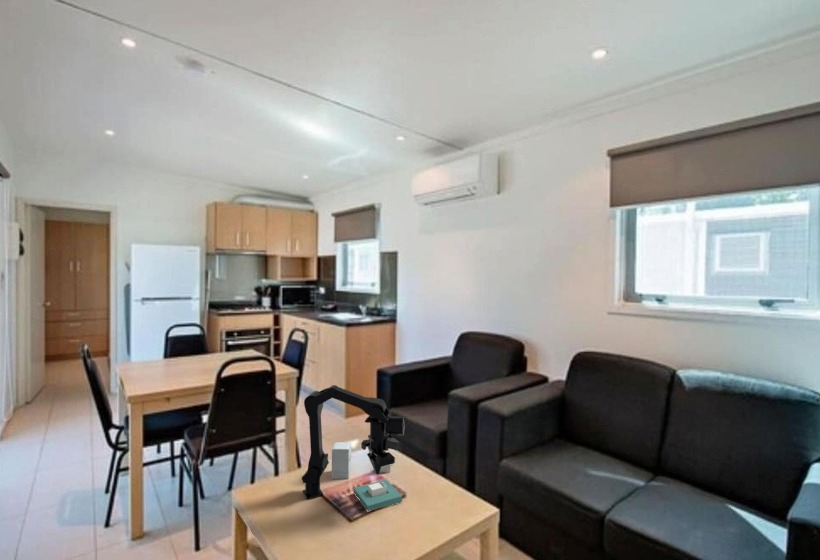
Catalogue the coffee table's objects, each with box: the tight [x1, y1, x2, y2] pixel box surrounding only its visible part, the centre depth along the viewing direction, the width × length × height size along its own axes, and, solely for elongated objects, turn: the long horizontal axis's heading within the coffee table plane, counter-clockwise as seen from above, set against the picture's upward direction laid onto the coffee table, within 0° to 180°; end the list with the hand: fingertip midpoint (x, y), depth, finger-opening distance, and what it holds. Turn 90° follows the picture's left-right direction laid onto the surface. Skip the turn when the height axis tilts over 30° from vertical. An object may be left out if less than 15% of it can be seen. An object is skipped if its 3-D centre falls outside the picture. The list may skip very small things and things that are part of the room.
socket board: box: [353, 479, 403, 511], centre depth 161 cm, size 14×14×2 cm
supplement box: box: [331, 441, 352, 480], centre depth 179 cm, size 7×7×13 cm
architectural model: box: [379, 463, 395, 474], centre depth 183 cm, size 3×7×7 cm, turn 85°
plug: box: [368, 482, 387, 498], centre depth 161 cm, size 4×6×5 cm, turn 118°
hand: (377, 473), depth 160 cm, fingers closed
